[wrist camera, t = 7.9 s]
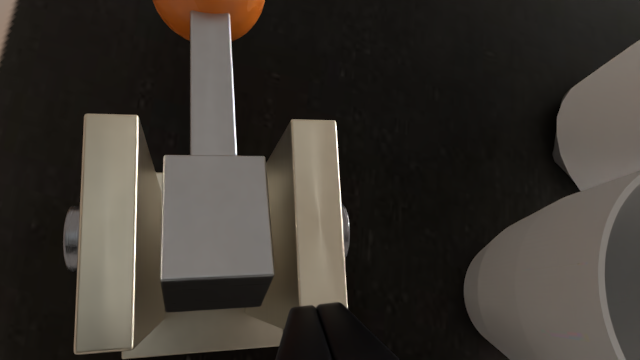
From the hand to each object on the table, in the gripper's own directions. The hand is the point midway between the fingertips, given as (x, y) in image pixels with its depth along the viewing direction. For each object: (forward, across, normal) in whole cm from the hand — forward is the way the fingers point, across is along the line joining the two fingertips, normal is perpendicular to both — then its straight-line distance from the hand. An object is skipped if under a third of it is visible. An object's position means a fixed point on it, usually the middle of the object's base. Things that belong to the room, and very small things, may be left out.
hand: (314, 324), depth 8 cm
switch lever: (+8, +2, 0) cm, 8 cm away
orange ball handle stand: (+11, +3, +7) cm, 13 cm away
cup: (+11, -11, +10) cm, 18 cm away
